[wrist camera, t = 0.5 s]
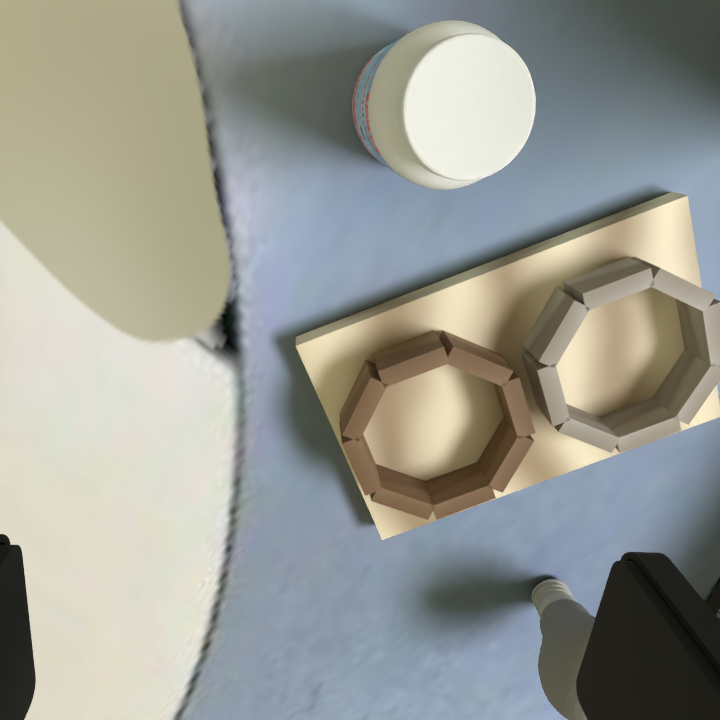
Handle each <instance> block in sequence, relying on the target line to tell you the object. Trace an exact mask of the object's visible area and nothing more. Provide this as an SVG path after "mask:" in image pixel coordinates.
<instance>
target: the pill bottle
mask: <svg viewBox="0 0 720 720" xmlns="http://www.w3.org/2000/svg"><path fill="white" fill-rule="evenodd" d="M535 104H536V97H535V91H534V85H533V81H532V78H531V75H530V73H529V71H528V69H527V66H526V64H525V63H524V61H523V60H522V59H521V57H520V56H519V55H518V54H517V53H516V52H515V51H514V50H513V49H512V48H511V47H510V46H509V45H507V44H505V43H504V42H502V41H501V40H500V39H499V38H498V37H497V36H496V35H494V34H493V33H491V32H490V31H488V30H487V29H485V28H483V27H481V26H478V25H476V24H473V23H470V22H466V21H458V20H444V21H437V22H433V23H430V24H426V25H424V26H421V27H419V28H417V29H415V30H413V31H411V32H409V33H408V34H406V35H404V36H403V37H401V38H399V39H398V40H396V41H394V42H393V43H391V44H389V45H388V46H386V47H384V48H383V49H381V50H380V51H379V52H378V53H376V54H375V55H374V56H373V57H372V58H371V59H370V60H369V61H368V63H367V64H366V65H365V67H364V68H363V70H362V71H361V73H360V75H359V77H358V80H357V82H356V85H355V89H354V93H353V101H352V112H353V120H354V124H355V128H356V131H357V134H358V136H359V138H360V140H361V141H362V143H363V145H364V146H365V147H366V149H367V150H368V151H369V152H370V153H371V154H372V155H373V156H374V157H375V158H376V159H377V160H378V161H380V162H381V163H383V164H384V165H386V166H387V167H388V168H390V169H391V170H392V171H394V172H395V173H397V174H399V175H400V176H401V177H403V178H405V179H407V180H408V181H410V182H413V183H415V184H417V185H420V186H423V187H427V188H431V189H440V190H446V189H455V188H460V187H464V186H467V185H470V184H473V183H475V182H477V181H479V180H481V179H482V178H484V177H487V176H490V175H492V174H494V173H496V172H497V171H499V170H501V169H502V168H504V167H505V166H506V165H507V164H509V163H510V162H511V161H512V160H513V159H514V158H515V156H516V155H517V154H518V153H519V152H520V150H521V149H522V147H523V146H524V144H525V142H526V140H527V138H528V136H529V134H530V131H531V129H532V125H533V122H534V116H535Z"/></svg>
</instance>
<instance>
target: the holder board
mask: <svg viewBox="0 0 720 720" xmlns="http://www.w3.org/2000/svg"><path fill="white" fill-rule="evenodd" d="M715 296H716V295H715V294H713V293H711V292H709V291H707V290H704V289H702V287H701V280H700V274H699V267H698V261H697V254H696V248H695V241H694V235H693V228H692V222H691V215H690V209H689V202H688V196H687V195H683V194H679V193H674V192H670V193H667V194H665V195H662V196H660V197H657V198H654V199H652V200H649V201H647V202H644V203H641V204H639V205H636V206H634V207H631V208H628V209H626V210H623V211H621V212H618V213H615V214H613V215H610V216H608V217H605V218H603V219H600V220H597V221H595V222H592V223H590V224H587V225H584V226H582V227H579V228H577V229H574V230H571V231H569V232H566V233H564V234H561V235H558V236H556V237H553V238H551V239H548V240H545V241H543V242H540V243H538V244H535V245H532V246H530V247H527V248H525V249H522V250H519V251H517V252H514V253H512V254H509V255H506V256H504V257H501V258H499V259H496V260H494V261H491V262H488V263H486V264H483V265H481V266H478V267H475V268H473V269H470V270H468V271H465V272H462V273H460V274H457V275H455V276H452V277H449V278H447V279H444V280H442V281H439V282H436V283H434V284H431V285H429V286H426V287H423V288H421V289H418V290H416V291H413V292H410V293H408V294H405V295H403V296H400V297H397V298H395V299H392V300H390V301H387V302H385V303H382V304H379V305H377V306H374V307H372V308H369V309H366V310H364V311H361V312H359V313H356V314H353V315H351V316H348V317H346V318H343V319H340V320H338V321H335V322H333V323H330V324H327V325H325V326H322V327H320V328H317V329H314V330H312V331H309V332H307V333H304V334H301V335H299V336H296V348H297V350H298V352H299V355H300V357H301V359H302V361H303V364H304V366H305V368H306V370H307V373H308V375H309V377H310V379H311V382H312V384H313V386H314V388H315V390H316V393H317V395H318V397H319V399H320V402H321V404H322V406H323V408H324V411H325V413H326V415H327V417H328V420H329V422H330V424H331V426H332V428H333V431H334V433H335V435H336V437H337V440H338V442H339V444H340V446H341V449H342V451H343V453H344V455H345V458H346V460H347V462H348V464H349V466H350V469H351V471H352V473H353V475H354V478H355V480H356V482H357V484H358V487H359V489H360V491H361V493H362V496H363V498H364V500H365V502H366V504H367V507H368V509H369V511H370V513H371V516H372V518H373V520H374V522H375V525H376V527H377V529H378V531H379V534H380V536H381V538H382V540H383V539H386V538H389V537H392V536H394V535H397V534H400V533H403V532H405V531H408V530H411V529H414V528H416V527H419V526H422V525H425V524H427V523H430V522H433V521H436V520H438V519H441V518H444V517H447V516H449V515H452V514H455V513H458V512H460V511H463V510H466V509H468V508H471V507H474V506H477V505H479V504H482V503H485V502H488V501H490V500H493V499H496V498H499V497H501V496H504V495H507V494H510V493H512V492H515V491H518V490H521V489H523V488H526V487H529V486H532V485H534V484H537V483H540V482H543V481H545V480H548V479H551V478H554V477H556V476H559V475H562V474H565V473H567V472H570V471H573V470H575V469H578V468H581V467H584V466H586V465H589V464H592V463H595V462H597V461H600V460H603V459H606V458H608V457H611V456H614V455H617V454H619V453H622V452H625V451H628V450H630V449H633V448H636V447H639V446H641V445H644V444H647V443H650V442H652V441H655V440H658V439H661V438H663V437H666V436H669V435H671V434H674V433H677V432H680V431H682V430H685V429H688V428H691V427H693V426H696V425H699V424H702V423H704V422H707V421H710V420H713V419H715V418H718V417H720V404H719V397H718V391H717V384H718V382H719V381H720V301H718V300H716V299H714V298H715Z"/></svg>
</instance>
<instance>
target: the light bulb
mask: <svg viewBox="0 0 720 720" xmlns="http://www.w3.org/2000/svg"><path fill="white" fill-rule="evenodd" d="M531 598H532V601H533V603H534V605H535V607H536V609H537V611H538V614H539V616H540V618H541V619H540V628H541V632H542V635H543V639H542V645H541V648H540V655H539V662H538V668H539V676H540V680H541V684H542V688H543V690H544V692H545V695H546V696H547V698H548V700H549V702H550V703H551V704H552V705H553V706H554V708H555V709H556V710H557V711H558V712H559V713H560V714H561V715H563V716H564V717H565V718H567V719H568V720H587V718H586V716H585V714H584V712H583V710H582V707H581V705H580V703H579V700H578V696H577V691H576V680H577V676H578V673H579V670H580V666H581V663H582V660H583V657H584V654H585V650H586V647H587V644H588V641H589V638H590V634H591V631H592V628H593V625H594V622H595V619H596V618H595V617H593V616H591V615H590V614H589V613H588V611H587V610H586V609H585V608H584V607H583V606H582V605H580V604H579V603H577V602H576V600H575V599H574V597H573V595H572V593H571V591H570V590H569V588H568V586H567V584H566V583H565V582H563V581H561V580H558V579H549V580H545V581H543V582H541V583H539V584H538V585H537V586H536V587H535V588H534V590H533V591H532V596H531Z"/></svg>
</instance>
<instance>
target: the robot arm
mask: <svg viewBox="0 0 720 720" xmlns="http://www.w3.org/2000/svg"><path fill="white" fill-rule="evenodd" d="M35 682H36V681H35V668H34V659H33V650H32V641H31V631H30V622H29V613H28V604H27V594H26V585H25V576H24V567H23V557H22V551H21V548H20V546H19V545H10V541H9V538H8V537H7V535H4V534H0V720H24V719H25V716H26V714H27V712H28V710H29V707H30V705H31V702H32V699H33V695H34V690H35ZM576 691H577V696H578V700H579V703H580V705H581V707H582V710H583V712H584V714H585V716H586V718H587V720H720V620H719V619H718V617H717V616H716V615H715V614H714V613H713V611H712V610H711V609H710V608H709V606H708V605H707V604H706V603H705V602H704V600H703V599H702V598H701V597H700V596H699V594H698V593H697V592H696V591H695V590H694V588H693V587H692V586H691V585H690V583H689V582H688V581H687V580H686V579H685V577H684V576H683V575H682V574H681V573H680V571H679V570H678V569H677V568H676V567H675V565H674V564H673V563H672V562H671V560H670V559H669V558H668V557H667V556H665V555H664V554H661V553H646V552H628V553H625V554H624V555H623V556H622V558H621V560H620V561H616V562H615V563H614V564H613V566H612V568H611V571H610V574H609V577H608V580H607V584H606V587H605V590H604V593H603V596H602V599H601V603H600V606H599V609H598V612H597V615H596V619H595V622H594V625H593V628H592V631H591V634H590V638H589V641H588V644H587V647H586V650H585V654H584V657H583V660H582V663H581V666H580V670H579V673H578V676H577V680H576Z"/></svg>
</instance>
